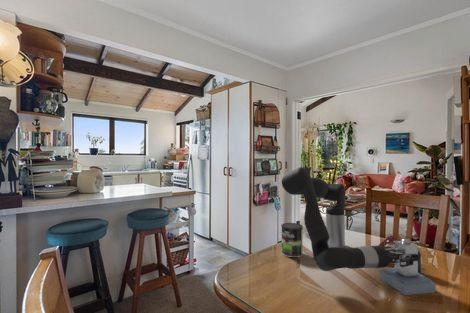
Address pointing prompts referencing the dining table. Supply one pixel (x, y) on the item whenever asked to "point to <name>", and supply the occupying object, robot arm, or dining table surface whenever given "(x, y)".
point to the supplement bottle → (419, 263)
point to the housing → (407, 249)
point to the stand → (407, 282)
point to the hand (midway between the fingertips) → (412, 254)
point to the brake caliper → (390, 243)
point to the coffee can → (292, 239)
